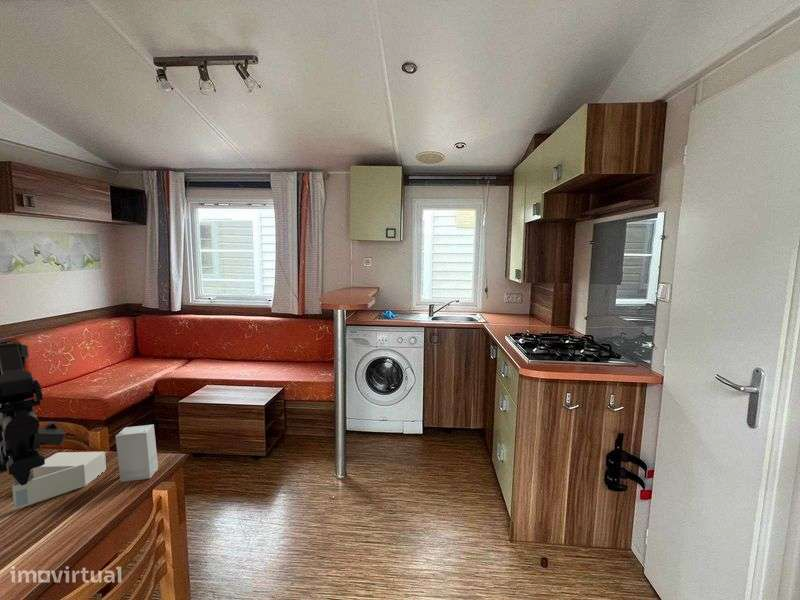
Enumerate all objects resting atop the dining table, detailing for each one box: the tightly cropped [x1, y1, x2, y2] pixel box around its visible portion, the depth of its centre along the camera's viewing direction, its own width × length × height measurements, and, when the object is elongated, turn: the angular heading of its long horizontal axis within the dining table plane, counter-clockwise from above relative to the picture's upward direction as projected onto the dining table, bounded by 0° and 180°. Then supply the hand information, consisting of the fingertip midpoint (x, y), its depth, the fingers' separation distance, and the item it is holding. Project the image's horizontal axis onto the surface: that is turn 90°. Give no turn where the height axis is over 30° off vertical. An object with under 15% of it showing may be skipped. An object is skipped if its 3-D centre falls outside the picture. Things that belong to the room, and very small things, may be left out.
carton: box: [32, 451, 107, 487], centre depth 108 cm, size 14×8×6 cm, turn 94°
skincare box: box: [115, 424, 159, 483], centre depth 109 cm, size 8×6×15 cm
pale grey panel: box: [11, 464, 86, 511], centre depth 98 cm, size 14×1×9 cm, turn 139°
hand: (23, 483), depth 94 cm, fingers closed
